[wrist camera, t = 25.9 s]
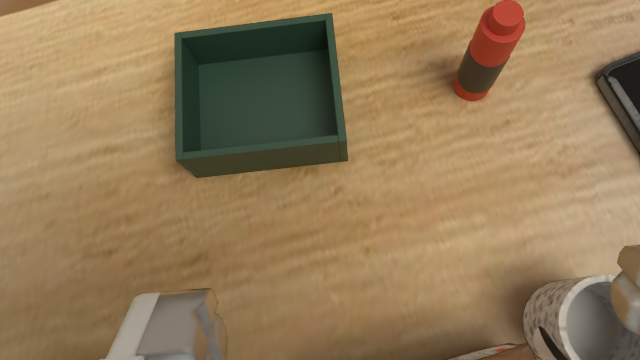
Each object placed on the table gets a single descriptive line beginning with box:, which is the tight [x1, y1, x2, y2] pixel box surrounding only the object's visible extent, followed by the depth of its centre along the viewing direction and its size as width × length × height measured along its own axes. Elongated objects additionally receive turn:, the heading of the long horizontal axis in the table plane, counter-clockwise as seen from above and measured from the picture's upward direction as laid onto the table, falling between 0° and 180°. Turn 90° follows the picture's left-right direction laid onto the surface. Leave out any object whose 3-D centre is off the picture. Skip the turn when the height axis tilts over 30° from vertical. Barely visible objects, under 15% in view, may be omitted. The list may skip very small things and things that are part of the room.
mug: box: [523, 275, 640, 360], centre depth 32 cm, size 10×7×7 cm, turn 58°
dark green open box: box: [175, 13, 348, 178], centre depth 40 cm, size 13×11×5 cm
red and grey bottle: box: [454, 0, 525, 101], centre depth 36 cm, size 3×3×10 cm
